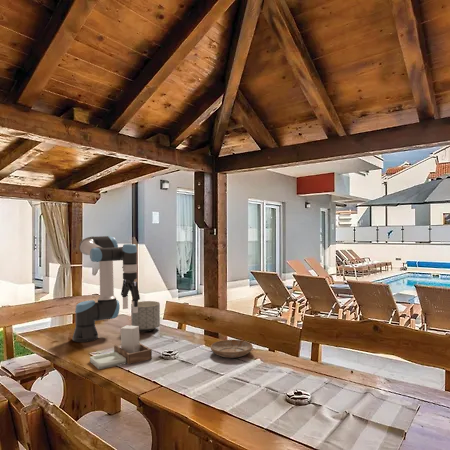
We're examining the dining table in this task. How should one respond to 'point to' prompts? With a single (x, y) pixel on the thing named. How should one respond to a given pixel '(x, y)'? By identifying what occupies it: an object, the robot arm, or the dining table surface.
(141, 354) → the box
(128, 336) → the skincare box
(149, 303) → the planter
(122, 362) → the tray
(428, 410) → the dining table surface
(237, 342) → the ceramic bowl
